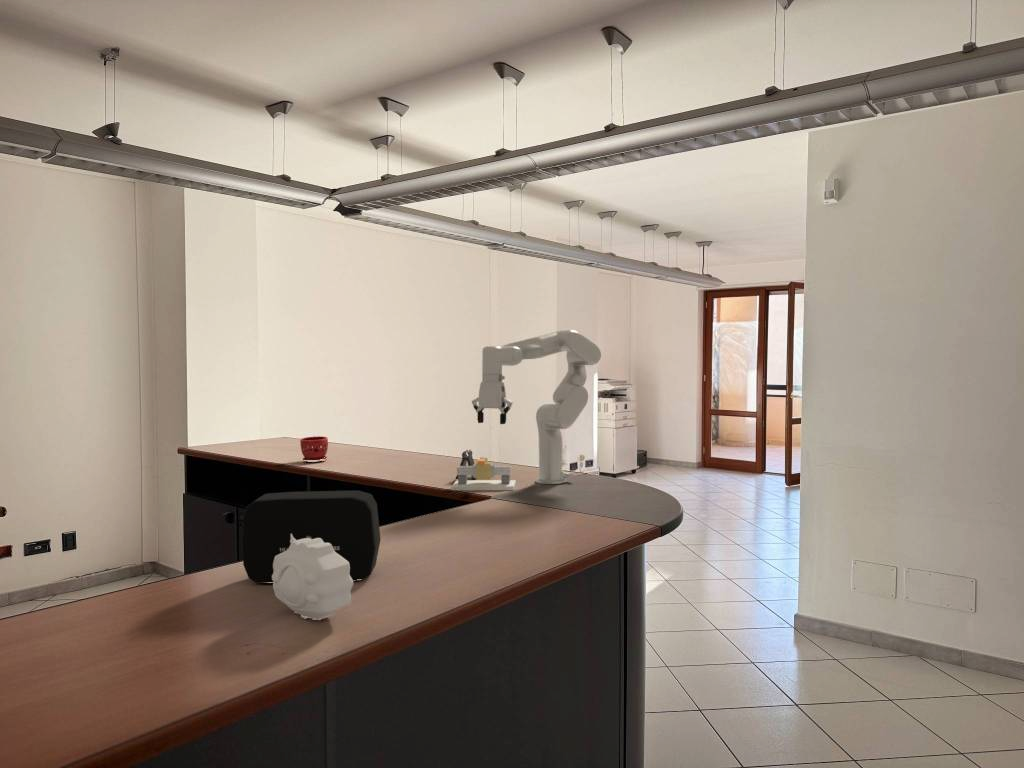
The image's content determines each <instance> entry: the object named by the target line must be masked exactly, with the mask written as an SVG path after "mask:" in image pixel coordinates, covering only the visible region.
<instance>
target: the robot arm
mask: <svg viewBox="0 0 1024 768" xmlns="http://www.w3.org/2000/svg"><path fill="white" fill-rule="evenodd" d="M562 352H566V362H567V372H566V374H565V376H564V377H563V379H562V380H561V382H560V383H559V384H558V386H557V387H556V389H555V390H554V392H553V394H552V401H553V402H554V403H545V404H542V405H540V406H539V408H538V409H537V410H536V413H535V420H536V426H537V431H538V433H537V435H538V477H537V478H535V483H537V484H541V485H559V484H566V483H567V478H570V479H571V478H573V479H574V477H575V475H574V474H575V473H574V472H566V471H564V469H563V436H562V432H561V430H567V429H569V428H570V427H572V425H573V424H574V423H575V422H576V421H577V419H578V418H579V416H580V415H581V413H582V412H583V410H584V409H585V407H586V406H587V404H588V401H589V392H588V390H587V388H586V387H585V384H586V382H587V375H588V374H587V369H586V366H593V365H596V364H598V363H600V360H601V358H602V351H601V349H600V348H599V346H598V344H595V343H594V342H593V341H592V340H590V339H588V338H587V337H586V336H584V335H583V334H582V333H580V332H578V331H576V330H573V329H569V330H568V329H567V330H565V329H564V330H557V331H553V332H550V333H545V334H542V335H539V336H534V337H531V338H530V337H529V338H527V339H523V340H519V341H518V340H517V341H514V342H510V343H507V344H503V345H500V346H493V345H492V346H485V347H483V348H482V352H481V353H482V356H481V358H482V359H481V360H482V361H481V362H482V364H481V365H482V369H481V371H482V373H481V375H482V377H481V379H482V380H481V382H480V384H479V390H478V397H476V398H475V399H473V400H471V405H472V406H473V409H474V410H475V412H476V413H477V419H476V420H477V423H478V424H482V423H484V419H485V417H484V410H485V409H498V410H499V411H500V415H499V424H500V425H505V424H507V423H506V422H507V414H508V412H509V411H510V410H511V408H512V406H513V401H511V400H510V399H508V398H507V395H506V394H507V392H506V387H505V386H506V385H505V382H503V380H505V378H506V376H505V375H503V366H506V367H507V366H508V367H509V366H511V367H512V366H513V367H514V366H517V365H519V364H521V363H522V361H523V360H536V359H542V358H544V357H545V358H546V357H547V356H551V355H554V354H558V353H562Z"/></svg>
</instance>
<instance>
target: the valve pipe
mask: <svg viewBox="0 0 1024 768" xmlns="http://www.w3.org/2000/svg"><path fill="white" fill-rule="evenodd" d="M457 475H467V476H471V475H473V478H476V480H492V479H493V478H495V476H502V475H510V476H511V475H512V465H496V463H493V461H485V465H482V466H477V462H475V464H474V465H473V466H468V465H466V466H460V465H458V466H456V476H457Z"/></svg>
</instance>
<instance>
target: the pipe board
mask: <svg viewBox="0 0 1024 768" xmlns="http://www.w3.org/2000/svg"><path fill="white" fill-rule="evenodd" d="M467 477H468V475H459V476H458V480H455V482H454V483H453V484H452V485H451V490H452V489H458V490H457V491H514V490H515V488H514V487H516V485H517V480H515V479H511V475H500V477H501V479H497V480H495V479H493V480H492V479H491V480H467ZM515 484H516V485H515ZM459 489H460V490H459Z"/></svg>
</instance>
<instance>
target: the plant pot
mask: <svg viewBox="0 0 1024 768" xmlns="http://www.w3.org/2000/svg"><path fill="white" fill-rule="evenodd" d="M328 439H329V438H328V437H326V436H319V435H318V436H317V435H316V436H308V437H307V436H306V437H302V438H301V439H300V440H299V443H300V449H301V454H302V456H303V457H302V461H303V460H320V459H326V458H327V459H328V456H326V455H327V452H328V447H329V440H328ZM324 457H325V458H324ZM327 459H326V460H327Z"/></svg>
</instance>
